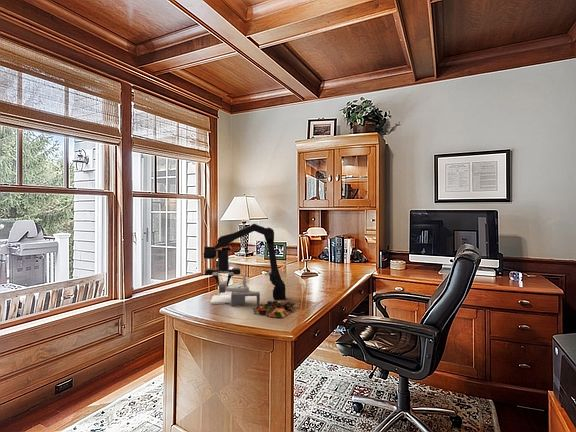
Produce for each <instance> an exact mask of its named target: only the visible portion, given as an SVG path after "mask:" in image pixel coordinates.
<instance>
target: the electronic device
mask: <svg viewBox="0 0 576 432" xmlns="http://www.w3.org/2000/svg"><path fill="white" fill-rule="evenodd" d="M228 291H232V292H250V287H249V286H248V285H247V278H246V274H245V275H244V274H243V275H242V285H241V286H239V285H238V286H237V285H228V287H227V290H226V291H225V292H228ZM232 292H231V293H232Z"/></svg>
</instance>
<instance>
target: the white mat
mask: <svg viewBox="0 0 576 432" xmlns="http://www.w3.org/2000/svg"><path fill="white" fill-rule="evenodd" d="M209 303H210V305H222V304H224V305H225V303H231V294H229V295H228V294H227V295H226V294H225V295H223V294H222V295H212V297H211V300H210V302H209Z"/></svg>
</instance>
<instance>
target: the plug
mask: <svg viewBox="0 0 576 432" xmlns="http://www.w3.org/2000/svg"><path fill="white" fill-rule="evenodd" d="M226 290H227V280H219V286H218V291H219V292H218V293H219V294H220V293H221V294H224V293H226V292H227V291H226Z"/></svg>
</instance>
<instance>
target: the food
mask: <svg viewBox="0 0 576 432" xmlns="http://www.w3.org/2000/svg"><path fill="white" fill-rule="evenodd" d="M266 302H267V303H265V304H263V305H261V306H259V305H258V306H257V305H256V307H253V308H252V310H253V314H254V315H256V316H257V315H258V316H259V315H260V316H266V318H274V319H278V318H281V319H284V318H286V317H287V316H288V315H290V314H294V310H293V307H294V306H295V305H296V304H297V302H294V301H292V302H291V301H283V300H282V301H280V302H278V300H273V301H272V300H268V301H266Z"/></svg>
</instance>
